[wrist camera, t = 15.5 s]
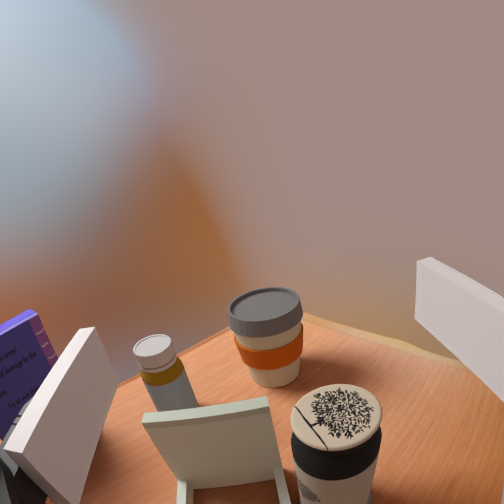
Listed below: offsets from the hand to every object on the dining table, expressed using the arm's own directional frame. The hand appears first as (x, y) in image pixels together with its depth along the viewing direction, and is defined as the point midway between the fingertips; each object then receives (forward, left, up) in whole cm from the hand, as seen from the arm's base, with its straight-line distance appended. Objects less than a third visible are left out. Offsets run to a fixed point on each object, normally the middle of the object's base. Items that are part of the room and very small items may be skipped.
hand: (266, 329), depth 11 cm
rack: (-9, -1, -32) cm, 33 cm away
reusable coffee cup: (-22, +29, -32) cm, 49 cm away
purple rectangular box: (-44, -9, -32) cm, 55 cm away
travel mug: (-1, +8, -32) cm, 33 cm away
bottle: (-31, +12, -32) cm, 46 cm away
